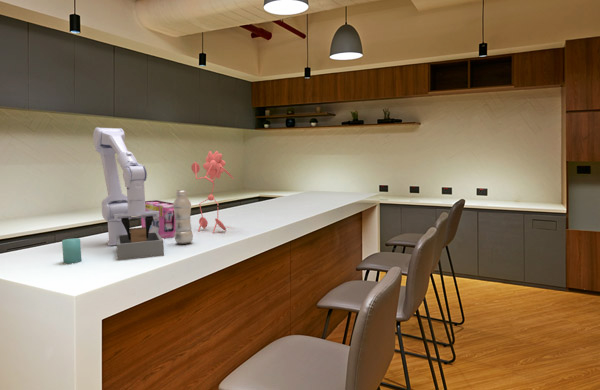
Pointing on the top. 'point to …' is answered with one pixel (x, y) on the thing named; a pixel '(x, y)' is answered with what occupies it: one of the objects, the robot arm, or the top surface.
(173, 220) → the gum box
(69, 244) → the teal cylinder
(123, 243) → the tote
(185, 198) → the plastic bottle
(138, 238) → the walnut cube
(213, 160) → the figurine
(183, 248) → the top surface
